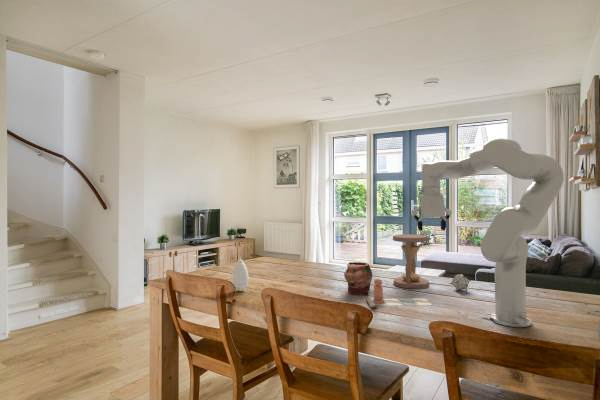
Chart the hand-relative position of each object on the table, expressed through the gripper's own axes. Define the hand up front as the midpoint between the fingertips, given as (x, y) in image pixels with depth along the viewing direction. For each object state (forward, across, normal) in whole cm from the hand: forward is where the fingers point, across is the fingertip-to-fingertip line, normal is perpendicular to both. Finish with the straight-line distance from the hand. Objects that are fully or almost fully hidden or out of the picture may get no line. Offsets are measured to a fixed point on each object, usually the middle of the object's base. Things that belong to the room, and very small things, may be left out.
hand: (431, 230), depth 156 cm
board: (+30, -16, -7) cm, 35 cm away
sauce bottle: (+31, -88, +17) cm, 95 cm away
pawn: (+29, -25, -7) cm, 39 cm away
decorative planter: (+31, -30, +14) cm, 45 cm away
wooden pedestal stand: (+31, -2, +27) cm, 41 cm away
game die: (+31, +18, +15) cm, 39 cm away
